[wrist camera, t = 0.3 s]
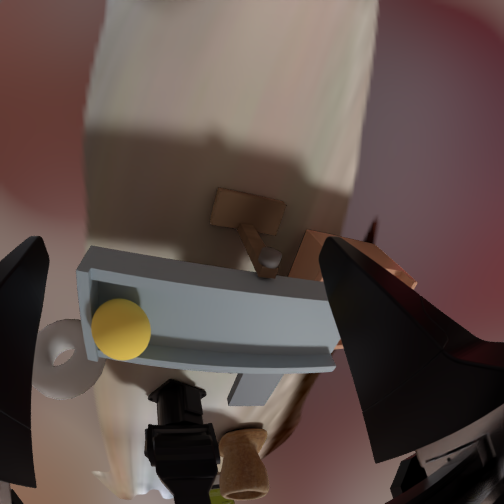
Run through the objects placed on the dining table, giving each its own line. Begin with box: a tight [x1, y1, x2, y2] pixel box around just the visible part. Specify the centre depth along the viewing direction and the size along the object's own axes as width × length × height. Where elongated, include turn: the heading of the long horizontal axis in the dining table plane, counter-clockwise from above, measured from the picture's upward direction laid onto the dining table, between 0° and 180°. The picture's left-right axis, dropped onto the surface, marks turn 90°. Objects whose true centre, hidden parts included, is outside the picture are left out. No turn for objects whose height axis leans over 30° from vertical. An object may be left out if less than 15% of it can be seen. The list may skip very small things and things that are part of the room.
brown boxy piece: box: [288, 229, 417, 349], centre depth 27 cm, size 10×11×8 cm
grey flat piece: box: [76, 246, 341, 406], centre depth 21 cm, size 21×16×3 cm
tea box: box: [209, 474, 235, 504], centre depth 60 cm, size 15×10×15 cm, turn 178°
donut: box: [32, 319, 106, 400], centre depth 21 cm, size 10×4×10 cm, turn 91°
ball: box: [91, 299, 151, 360], centre depth 16 cm, size 4×4×4 cm
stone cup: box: [219, 428, 269, 500], centre depth 42 cm, size 15×12×15 cm
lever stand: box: [210, 187, 287, 279], centre depth 23 cm, size 6×15×8 cm, turn 164°
